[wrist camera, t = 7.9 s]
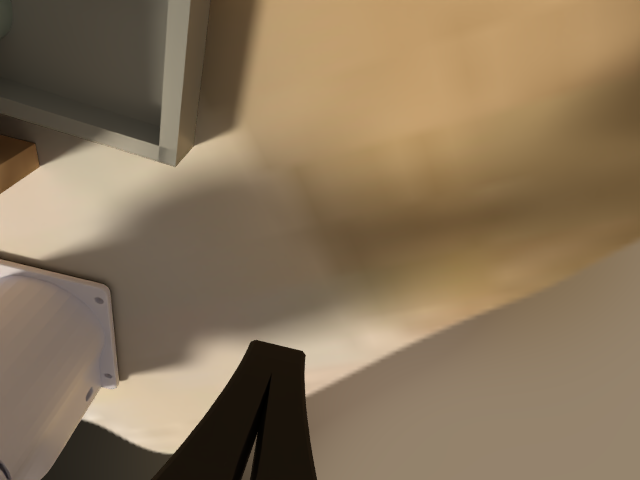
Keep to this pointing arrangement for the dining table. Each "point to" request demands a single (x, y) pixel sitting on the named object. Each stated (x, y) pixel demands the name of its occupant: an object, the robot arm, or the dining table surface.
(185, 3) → the tray
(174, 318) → the dining table surface
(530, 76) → the dining table surface
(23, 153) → the wooden box
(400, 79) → the dining table surface
